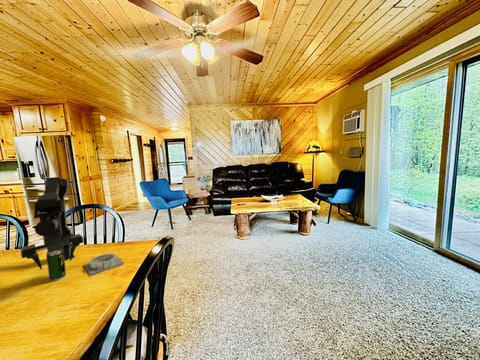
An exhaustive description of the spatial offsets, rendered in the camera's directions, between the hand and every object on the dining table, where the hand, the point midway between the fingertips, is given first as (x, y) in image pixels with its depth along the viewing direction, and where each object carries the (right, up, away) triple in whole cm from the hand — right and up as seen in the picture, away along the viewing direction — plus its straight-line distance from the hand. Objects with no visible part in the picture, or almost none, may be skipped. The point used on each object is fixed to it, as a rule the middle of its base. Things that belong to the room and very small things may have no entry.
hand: (56, 264), depth 87 cm
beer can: (0, -6, +1) cm, 6 cm away
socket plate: (+13, -4, +10) cm, 17 cm away
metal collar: (+13, -4, +10) cm, 17 cm away
